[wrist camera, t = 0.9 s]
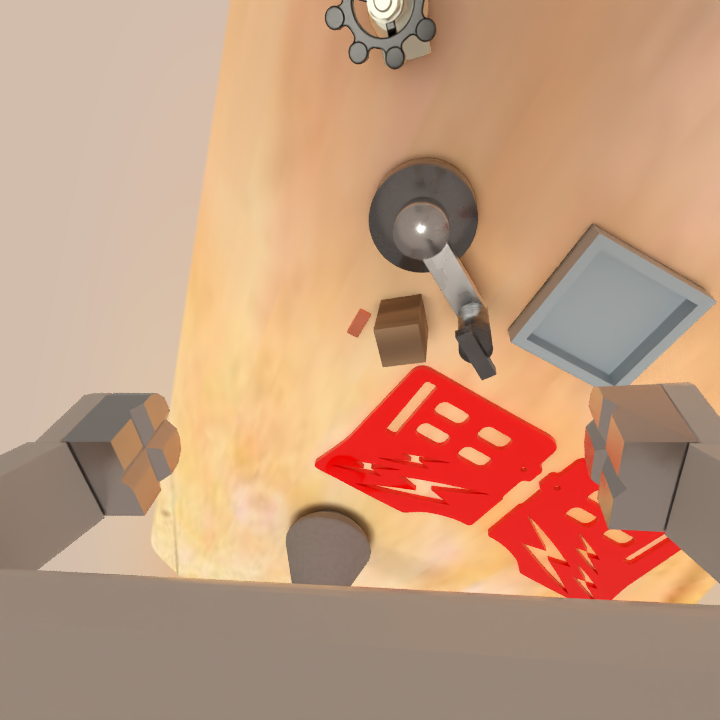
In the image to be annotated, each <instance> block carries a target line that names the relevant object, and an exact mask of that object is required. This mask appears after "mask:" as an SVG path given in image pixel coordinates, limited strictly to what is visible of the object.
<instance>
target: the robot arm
mask: <svg viewBox="0 0 720 720" xmlns="http://www.w3.org/2000/svg"><path fill="white" fill-rule="evenodd" d="M589 408H590V411H591V413H592V416H593V418H594V419H593V420H592V421H591V422H590V423H589V424H588V425H587V426H586V430H585V440H584V447H585V460H586V465H587V469H588V472H589V475H590V479H591V480H593V481H594V482H595V483H597V484H598V485H599V491H598V497H597V499H598V502H599V504H600V507H601V510H602V513H603V516H604V518H605V521H606V524H607V527H608V529H617V530H636V531H655V532H665V535H666V536H667V537H668V538H669V539H670V540H672V541H673V542H674V543H675V544H676V545H677V546H678V547H679V548H681V549H682V550H683V551H684V552H685V553H686V554H687V555H688V556H689V557H691V558H692V559H693V560H694V561H695V562H696V563H697V564H698V565H700V566H701V567H702V568H703V569H704V570H705V571H706V572H707V573H709V574H710V575H711V576H712V577H713V578H714V579H715V580H716V581H717V582H719V583H720V417H719V416H718V414H717V413H716V412H715V410H714V409H713V408H712V407H711V405H710V404H709V403H708V401H707V400H706V399H705V398H704V396H703V395H702V394H701V392H700V391H699V390H698V388H697V387H696V386H695V385H693V384H691V383H689V382H686V383H665V384H653V385H624V386H595V387H593V389H592V392H591V394H590V401H589ZM169 412H170V410H169V407H168V405H167V403H166V401H165V398H164V397H163V396H161V395H159V394H157V393H113V394H112V393H93V394H88V395H84V396H83V397H82V398H81V399H80V400H79V401H78V402H77V403H76V404H75V405H73V406H72V407H71V408H70V409H69V410H68V411H67V412H66V413H65V414H64V415H63V416H62V417H61V418H60V419H59V420H58V421H57V422H56V423H55V424H53V425H52V426H51V427H50V429H48V430H47V431H46V432H45V433H44V434H43V435H42V436H41V437H40V438H39V439H38V440H37V441H36V442H28V443H25V444H23V445H21V446H19V447H17V448H15V449H13V450H11V451H8V452H6V453H5V454H2V455H0V720H720V606H719V605H718V606H717V605H700V604H680V603H660V602H640V601H619V600H599V599H579V598H559V597H539V596H521V595H502V594H483V593H465V592H446V591H428V590H409V589H390V588H372V587H352V586H333V585H313V584H294V583H274V582H254V581H235V580H215V579H195V578H174V577H156V576H137V575H118V574H98V573H78V572H60V571H59V572H57V571H40V570H38V569H39V568H41V567H42V566H43V565H44V564H46V563H47V562H48V561H50V560H51V559H52V558H53V557H55V556H56V555H57V554H59V553H60V552H61V551H62V550H64V549H65V548H66V547H68V546H69V545H70V544H71V543H73V542H74V541H75V540H77V539H78V538H79V537H80V536H82V535H83V534H84V533H85V532H87V531H88V530H89V529H91V528H92V527H93V526H95V525H96V524H97V523H98V522H100V521H101V520H102V519H104V516H116V515H117V516H123V515H124V516H125V515H126V516H129V515H130V516H144V515H145V514H146V513H147V511H148V510H149V508H150V507H151V505H152V503H153V502H154V500H155V499H156V497H157V496H158V494H159V493H160V491H161V487H160V481H161V480H163V479H164V478H166V477H167V476H169V475H171V474H172V472H173V471H174V469H175V467H176V466H177V464H178V461H179V457H180V452H181V444H180V437H179V434H178V431H177V429H176V428H175V427H174V426H173V425H172V424H171V423H170V422H168V421H167V420H166V419H167V417H168V414H169Z"/></svg>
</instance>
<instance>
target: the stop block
mask: <svg viewBox="0 0 720 720" xmlns="http://www.w3.org/2000/svg"><path fill="white" fill-rule="evenodd" d="M374 334H375V338H376V342H377V346H378V350H379V354H380V358H381V361H382V365H383V367H389V366H397V365H405V364H414V363H422V362H426V352H427V339H428V326H427V321H426V316H425V311H424V305H423V300H422V295H421V294H419V295H412V296H406V297H399V298H392V299H386V300H381V303H380V307H379V311H378V314H377V318H376V322H375V326H374Z"/></svg>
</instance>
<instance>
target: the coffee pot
mask: <svg viewBox="0 0 720 720" xmlns="http://www.w3.org/2000/svg"><path fill="white" fill-rule="evenodd" d="M286 547H287V554H288V560H289V567H290V573H291V580H292V583H294V584H313V585H333V586H351V585H352V583H353V582H354V580H355V579H356V578H357V576H358V575H359V573H360V572H361V571H362V569H363V568H364V566H365V565H366V564H367V562H368V561H369V558H370V553H371V550H370V544H369V541H368V538H367V536H366V534H365V532H364V531H363V530H362V529H361V528H360V527H359V526H358V525H357V524H356V523H355V522H354V521H353V520H352V519H351V518H349V517H348V516H346V515H344V514H342V513H339V512H335V511H327V510H323V511H317V512H315V513H311V514H308V515H306V516H303V517H301V518H300V519H298V520H297V521H296V522H295V523H294V524H293V525H292V526H291V527H290V529H289V531H288V533H287V536H286Z"/></svg>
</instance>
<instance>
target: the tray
mask: <svg viewBox="0 0 720 720" xmlns="http://www.w3.org/2000/svg"><path fill="white" fill-rule="evenodd" d="M716 302H717V301H716V300H715V299H714V298H713V297H712V296H711V295H710V294H709V293H708V292H707V291H706V290H705V289H704V288H702V287H700V286H699V285H697V284H695V283H693V282H692V281H690V280H688V279H687V278H685V277H683V276H681V275H680V274H678V273H676V272H675V271H673V270H671V269H669V268H668V267H666V266H664V265H663V264H661V263H659V262H657V261H656V260H654V259H652V258H651V257H649V256H647V255H645V254H644V253H642V252H640V251H639V250H637V249H635V248H633V247H632V246H630V245H628V244H626V243H625V242H623V241H621V240H620V239H618V238H616V237H614V236H613V235H611V234H609V233H608V232H606V231H604V230H602V229H601V228H599V227H597V226H596V225H594V224H592V225H591V226H590V227H589V229H588V230H587V231H586V232H585V234H584V235H583V236H582V237H581V239H580V240H579V241H578V242H577V244H576V245H575V246H574V248H573V249H572V250H571V251H570V253H569V254H568V255H567V256H566V258H565V259H564V260H563V261H562V263H561V264H560V265H559V266H558V268H557V269H556V270H555V271H554V273H553V274H552V275H551V276H550V278H549V279H548V280H547V281H546V283H545V284H544V285H543V286H542V288H541V289H540V290H539V291H538V293H537V294H536V295H535V296H534V298H533V299H532V300H531V301H530V303H529V304H528V305H527V306H526V308H525V309H524V310H523V311H522V313H521V314H520V315H519V316H518V318H517V319H516V320H515V321H514V323H513V324H512V325H511V326H510V328H509V329H508V331H509V336H510V341H511V343H513V344H515V345H517V346H519V347H521V348H523V349H524V350H526V351H528V352H530V353H532V354H534V355H536V356H538V357H539V358H541V359H543V360H545V361H547V362H549V363H551V364H553V365H555V366H556V367H558V368H560V369H562V370H564V371H566V372H568V373H570V374H571V375H573V376H575V377H577V378H579V379H581V380H583V381H585V382H586V383H588V384H590V385H592V386H594V387H595V386H624V385H630V384H631V383H632V382H633V381H634V380H635V379H636V378H637V377H638V376H639V375H640V374H641V373H642V372H643V371H644V370H646V369H647V368H648V367H649V366H650V365H651V364H652V363H653V362H654V361H655V360H656V359H657V358H658V357H659V356H660V355H661V354H662V353H663V352H665V351H666V350H667V349H668V348H669V347H670V346H671V345H672V344H673V343H674V342H675V341H676V340H677V339H678V338H679V337H680V336H681V335H682V334H684V333H685V332H686V331H687V330H688V329H689V328H690V327H691V326H692V325H693V324H694V323H695V322H696V321H697V320H698V319H699V318H700V317H701V316H702V315H704V314H705V313H706V312H707V311H708V310H709V309H710V308H711V307H712V306H713V305H714V304H715V303H716Z"/></svg>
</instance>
